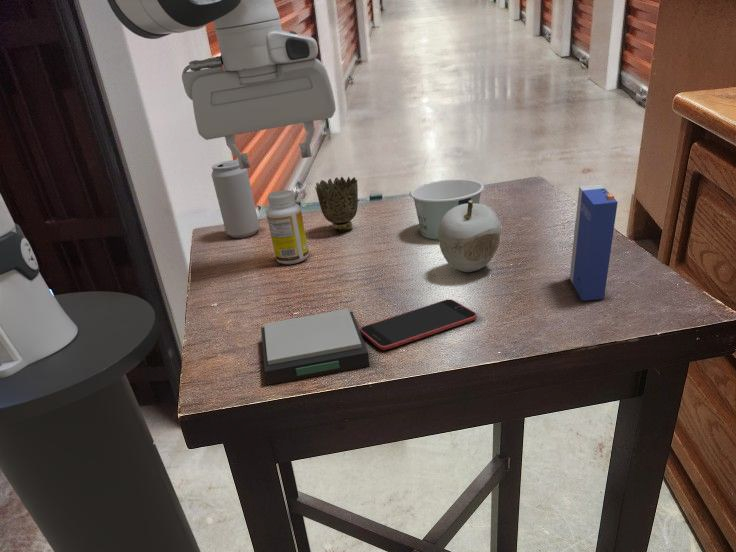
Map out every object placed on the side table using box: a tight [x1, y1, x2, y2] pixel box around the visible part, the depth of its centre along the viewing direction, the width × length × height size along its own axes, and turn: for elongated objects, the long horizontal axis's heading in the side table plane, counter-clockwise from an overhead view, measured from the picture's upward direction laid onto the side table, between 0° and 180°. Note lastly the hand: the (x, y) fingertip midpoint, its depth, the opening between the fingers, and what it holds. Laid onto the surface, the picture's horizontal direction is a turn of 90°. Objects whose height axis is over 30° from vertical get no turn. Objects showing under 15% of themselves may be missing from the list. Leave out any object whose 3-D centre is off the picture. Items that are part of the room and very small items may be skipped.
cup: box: [314, 176, 359, 233], centre depth 108 cm, size 8×7×8 cm
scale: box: [260, 308, 371, 386], centre depth 75 cm, size 12×12×2 cm
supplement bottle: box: [265, 189, 310, 265], centre depth 99 cm, size 6×6×10 cm
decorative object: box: [438, 200, 502, 273], centre depth 87 cm, size 9×9×10 cm
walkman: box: [569, 184, 618, 302], centre depth 77 cm, size 8×3×12 cm, turn 178°
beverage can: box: [211, 159, 260, 239], centre depth 112 cm, size 6×6×12 cm
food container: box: [410, 178, 485, 241], centre depth 102 cm, size 12×12×6 cm
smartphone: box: [359, 298, 478, 351], centre depth 77 cm, size 7×1×14 cm
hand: (276, 162), depth 93 cm, fingers open, 8 cm apart
